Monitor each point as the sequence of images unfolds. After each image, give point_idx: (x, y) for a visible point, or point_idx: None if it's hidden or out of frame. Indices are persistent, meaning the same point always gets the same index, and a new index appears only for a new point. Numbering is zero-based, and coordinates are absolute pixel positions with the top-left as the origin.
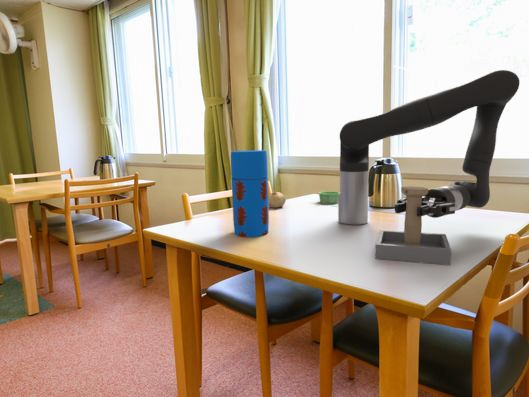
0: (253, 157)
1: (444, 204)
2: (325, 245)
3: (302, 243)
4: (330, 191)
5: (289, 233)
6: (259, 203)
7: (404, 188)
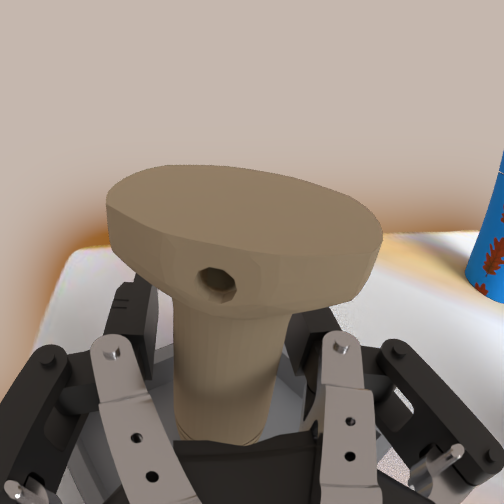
0: None
1: (14, 414)
2: (398, 328)
3: (422, 306)
4: None
5: (490, 321)
6: (494, 224)
7: (282, 177)
